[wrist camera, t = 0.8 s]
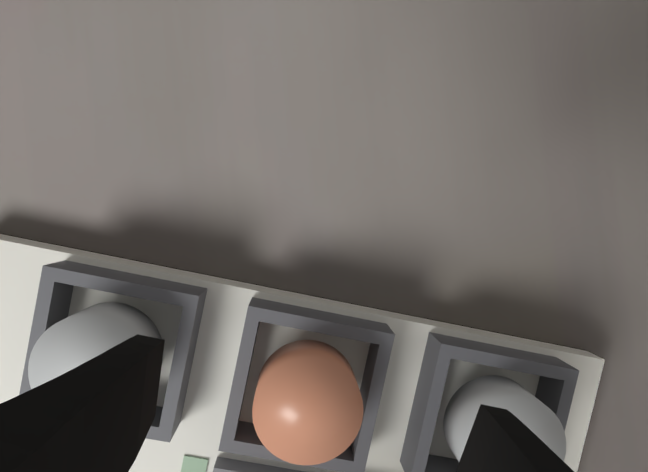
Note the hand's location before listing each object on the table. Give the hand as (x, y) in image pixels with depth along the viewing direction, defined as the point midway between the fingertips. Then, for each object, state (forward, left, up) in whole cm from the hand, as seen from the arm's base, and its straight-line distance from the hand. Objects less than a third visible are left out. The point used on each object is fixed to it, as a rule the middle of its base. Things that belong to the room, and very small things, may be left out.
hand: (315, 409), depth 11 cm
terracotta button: (-4, -1, -11) cm, 12 cm away
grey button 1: (-4, -10, -11) cm, 15 cm away
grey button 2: (-4, +8, -11) cm, 14 cm away
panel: (-7, 0, -14) cm, 16 cm away
